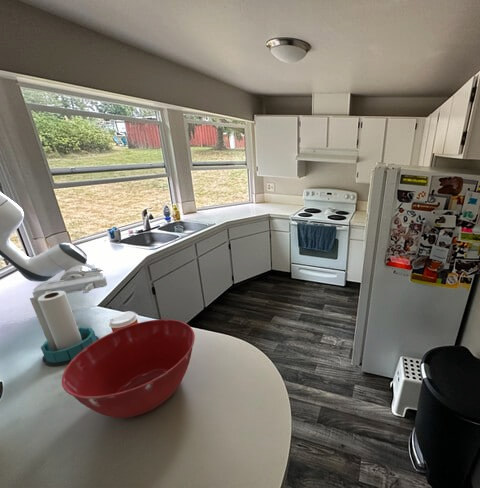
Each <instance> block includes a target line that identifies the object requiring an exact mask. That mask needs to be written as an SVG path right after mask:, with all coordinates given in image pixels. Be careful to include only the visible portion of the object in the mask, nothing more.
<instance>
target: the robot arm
mask: <svg viewBox="0 0 480 488" xmlns="http://www.w3.org/2000/svg"><path fill="white" fill-rule="evenodd" d="M24 218H25V214H24V211H23V209H22V207H20V205H18V203H16V202H15V201H14V200H12V199H11V198H9V197H8V196H6V195H5V194H4V193H2V192H1V191H0V257H1V258H3V259H4V260H5V261H7V262H8V263H9V264H10V265H12V267H14V268H15V269H16V270H17V271H18V272H19V273H20V274H21V276H22V277H24V278H25V279H26V280H28V281H29V282H37V283H38V282H39V283H40V284H38V285H37V286H35V287H34V288H33V289H32V291H31V294H32V296H33V297H37V296H40V295H42V294H46V293H49V292H54V291H64V292H65V293H66V295H68V294H74V293H80V292H82V294H88V293H90V291H92V290H95V289H100V288H104V287H107V286H108V281H107V276H106V273H105V272H104V269H103V268H101V267H96V264H95V262H94V260H92V259H91V258H89V257H88V255H87V254H86V252H85V251H84V250H83V249H82V248H80V247H79V246H77V245H76V244H72V243H67V242H59V243H58V244H56V245H54V246H52V247H50V248H48V249H46V250H44V251H42V252H41V253H39V254H36V255H35V256H27V255H26V254H25V253H24V252H23V251H22V250H21V249H20V248H18V246H17V245H15V244H14V243H13V241H11V237H12V235H13V234H14V233H15V232H16V230H18V228H19V227H21V225H22V223H23V221H24ZM63 271H64V272H63ZM61 272H63V274H62V275H61V276H60V279H56V280H51V279H52V278H54V277H55V276H57V275H58V274H60V273H61ZM50 280H51V281H50Z"/></svg>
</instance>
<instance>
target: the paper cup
mask: <svg viewBox="0 0 480 488" xmlns="http://www.w3.org/2000/svg"><path fill="white" fill-rule="evenodd" d="M138 318H139V315H138V313H136V312H135V311H132V310H131V311H129V310H128V311H122V312H119V313H117V314H115V315H114V316H112V317H111V318H110V319H109V323H108V327H110V328H111V331H112V332H114V331H117V330H119V329H122V328H124V327H127V326H130V325H133V324H137V323H139V322H138Z"/></svg>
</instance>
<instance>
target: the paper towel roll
mask: <svg viewBox="0 0 480 488" xmlns="http://www.w3.org/2000/svg"><path fill="white" fill-rule="evenodd" d="M29 300H30V302H31V305H32V307H33V310H34V312H35V315H36V318H37V320H38V322H39V324H40V326H41V330H42V332H43V334H44V336H45V339H46V341H48V344H49V346H50V349H51V351H57V350H63V349H67V348H70V347H72V346H74V345H77V344H79V343H81V342H82V338H81V335H80V332H79V330H78V327H79V326H78V324H77V322H76V319H75V316H74V312H73V311H72V307H71V304H70V302H69V299H68V297H67V294H66V293H65V292H64V291H54V292H49V293H46V294H42V295H40V296H37V297H34V296H33V297H29Z"/></svg>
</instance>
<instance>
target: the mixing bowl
mask: <svg viewBox="0 0 480 488" xmlns="http://www.w3.org/2000/svg"><path fill="white" fill-rule="evenodd" d="M195 340H196V335H195V331H194V329H193V328H192V326H190V325H189V324H187V323H186V322H184V321H181V320H176V319H170V318H169V319H168V318H161V319H151V320H146V321H141V322H138V323H137V324H133V325H130V326H127V327H124V328H122V329H119V330H117V331H114V332H113V331H112V332H110V333H107V334H106V335H104V336H102V337H100V338H99V340H97V341H95V342H94V343H92V344H91V345H89V346H88V347H86V348H85V349H84V350H82V351H81V352H80V353H79V354H78V355H77V356H76V357H75V358H74V359H73V360H72V361H71V362H70V363H69V364H67V366H66V367H65V369H64V371H63V373H62V375H61V386H62V389H63V391H65V392H66V393H67V394H68V395H70V396H72V397H74V399H76V400H77V401H78V402H80V404H81V405H84V406H85V407H86V408H89V409H90V410H91V411H93V412H96V413H98V414H99V415H103V416H106V417H109V418H114V419H127V418H133V417H134V418H135V417H137V416H140V415H143V414H146V413H148V412H150V411H152V410H154V409H156V408H157V407H159V406H161V405H162V404H164V402H166V401H167V400H168V399H169V398H170V397H171V396H172V395H173V394H174V393H175V392H176V391H177V389H178V388H179V386H181V383H182V381H183V379H184V377H185V374H186V372H187V371H188V367H189V364H190V361H191V357H192V352H193V347H194V344H195Z"/></svg>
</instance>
